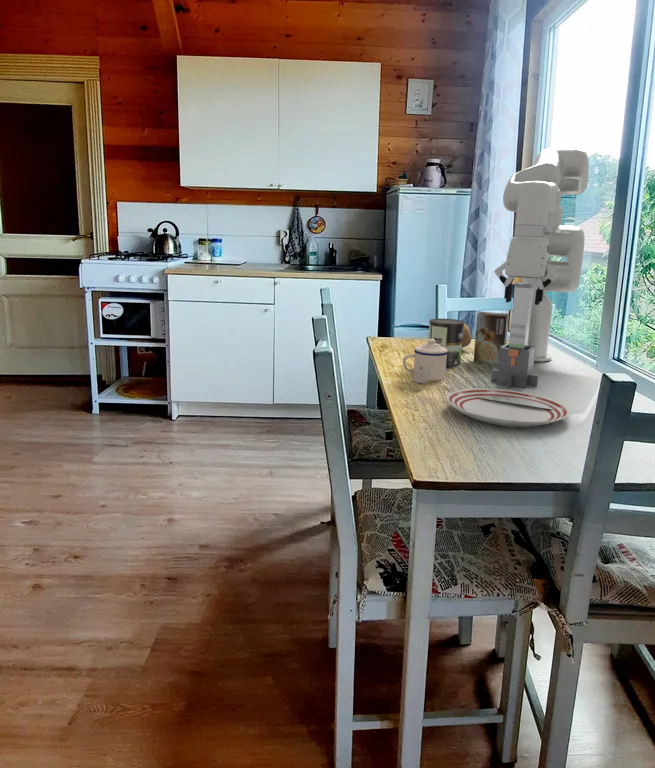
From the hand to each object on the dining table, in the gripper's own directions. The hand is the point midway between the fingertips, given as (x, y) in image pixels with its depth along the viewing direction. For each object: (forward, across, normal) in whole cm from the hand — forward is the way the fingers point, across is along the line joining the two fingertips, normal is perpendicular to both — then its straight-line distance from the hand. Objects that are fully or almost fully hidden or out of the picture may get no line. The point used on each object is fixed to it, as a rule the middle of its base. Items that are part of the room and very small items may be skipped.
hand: (522, 302), depth 167 cm
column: (+16, 0, 0) cm, 16 cm away
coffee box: (+23, +13, -24) cm, 36 cm away
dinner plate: (+23, -4, +26) cm, 35 cm away
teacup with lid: (+23, +23, +7) cm, 33 cm away
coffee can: (+23, +24, -13) cm, 36 cm away
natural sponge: (+23, +29, -42) cm, 56 cm away
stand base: (+23, 0, 0) cm, 23 cm away
